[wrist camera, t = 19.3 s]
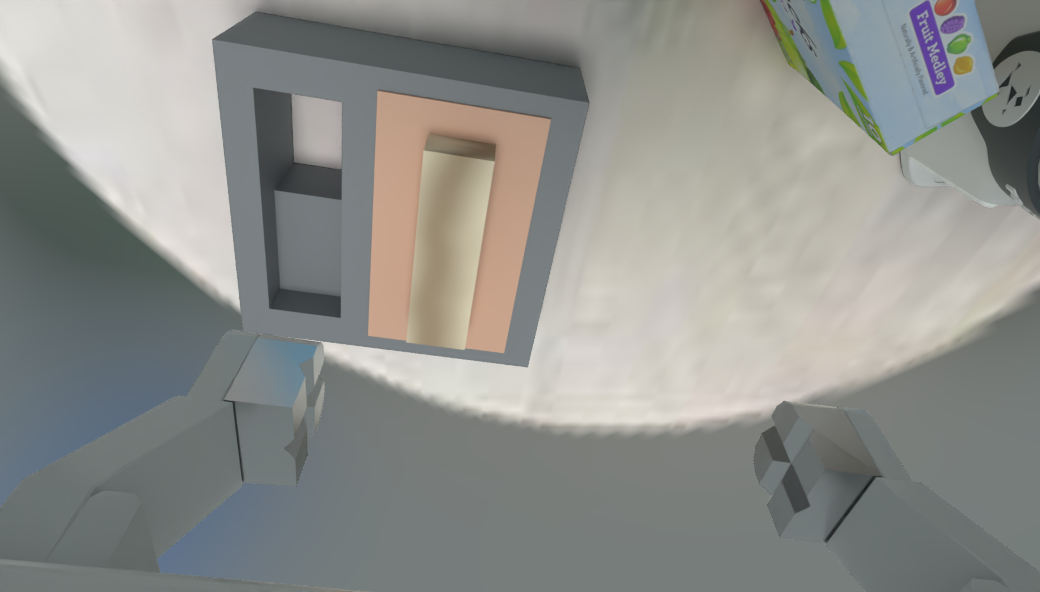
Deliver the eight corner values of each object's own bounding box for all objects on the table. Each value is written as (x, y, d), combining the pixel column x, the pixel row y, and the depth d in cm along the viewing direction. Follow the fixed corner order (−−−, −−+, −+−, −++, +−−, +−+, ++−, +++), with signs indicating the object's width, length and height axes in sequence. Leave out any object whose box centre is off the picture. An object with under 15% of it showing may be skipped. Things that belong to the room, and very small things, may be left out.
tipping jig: (579, 68, 42) (589, 104, 36) (526, 312, 54) (527, 369, 48) (255, 11, 40) (210, 40, 34) (273, 277, 52) (242, 333, 46)
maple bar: (495, 144, 38) (494, 161, 36) (467, 327, 46) (464, 350, 44) (428, 133, 37) (423, 150, 35) (411, 320, 45) (406, 342, 43)
